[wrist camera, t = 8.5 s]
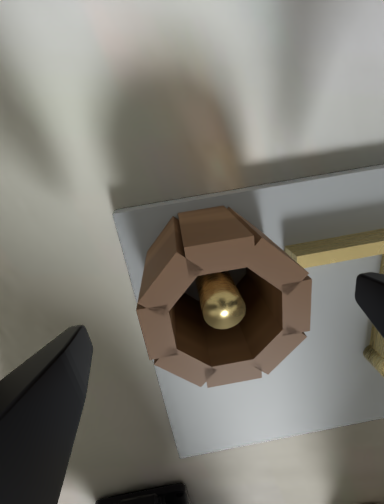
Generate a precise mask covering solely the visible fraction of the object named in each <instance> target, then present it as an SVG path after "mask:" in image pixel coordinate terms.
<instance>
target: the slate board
mask: <svg viewBox="0 0 384 504" xmlns="http://www.w3.org/2000/svg"><path fill="white" fill-rule="evenodd" d="M223 205H224V206H225V207H226V208H228V207H230V208H231V209H233V210H234V211H235V212H236V213H238V214H239V215H240V216H242V217H243V218H244V219H246V220H247V221H248V222H250V223H251V224H252V225H253V226H255V227H256V228H257V229H259V230H260V231H261V232H263V233H264V234H265V235H266V236H267V237H268V238H269V239H271V240H272V241H273V242H274V243H275V244H276V245H277V246H279V247H280V248H281V249H282V250H283V251H284V246H288V245H293V244H299V243H305V242H310V241H316V240H322V239H327V238H333V237H338V236H344V235H350V234H355V233H361V232H367V231H372V230H378V229H384V164H382V165H376V166H370V167H364V168H358V169H352V170H346V171H341V172H335V173H329V174H323V175H317V176H311V177H305V178H299V179H293V180H288V181H282V182H276V183H270V184H264V185H258V186H252V187H246V188H241V189H235V190H229V191H223V192H217V193H211V194H205V195H199V196H194V197H188V198H182V199H176V200H170V201H164V202H158V203H152V204H147V205H141V206H135V207H129V208H123V209H117V210H115V212H114V213H113V218H114V221H115V225H116V229H117V232H118V236H119V240H120V243H121V247H122V251H123V254H124V258H125V261H126V265H127V269H128V272H129V276H130V280H131V283H132V287H133V291H134V294H135V298H136V301H137V303H138V297H139V292H140V287H141V281H142V276H143V271H144V265H145V260H146V255H147V251H148V250H149V248H150V247H151V245H152V244H153V243H154V241H155V240H156V239H157V237H158V236H159V234H160V233H161V232H162V230H163V229H164V227H165V226H166V225H167V223H168V222H169V221H170V219H171V218H172V216H174V217H175V218H177V219H178V220H179V217H178V213H180V212H186V211H192V210H198V209H205V208H211V207H217V206H223ZM381 259H382V254H381V255H375V256H370V257H364V258H359V259H353V260H348V261H342V262H337V263H331V264H325V265H320V266H314V267H309V268H304V269H305V270H306V271H307V272H308V273H309V274H308V276H309V277H310V278H311V279H312V293H311V320H310V331H307V332H304V333H305V335H306V336H307V337H306V338H305V339H304V340H303V341H302V342H301V343H300V344H299V345H298V346H297V347H296V348H295V349H294V350H293V351H292V352H291V353H290V354H289V355H288V356H287V357H286V358H285V359H284V360H283V361H282V362H281V363H280V364H279V365H278V366H277V367H276V368H274V369H273V370H272V371H271V372H270V373H269V374H266V373H264V372H262V378H258V379H253V380H248V381H242V382H237V383H232V384H226V385H221V386H215V387H210V388H207V382H205V384H204V385H203V386H202V387H199V386H197V385H195V384H193V383H191V382H189V381H187V380H185V379H183V378H181V377H178V376H176V375H174V374H172V373H170V372H168V371H166V370H164V369H162V368H160V367H158V366H155V365H154V367H155V371H156V374H157V378H158V381H159V385H160V389H161V392H162V396H163V400H164V403H165V407H166V411H167V414H168V418H169V421H170V425H171V429H172V432H173V436H174V440H175V443H176V447H177V451H178V454H179V458H180V459H181V458H187V457H192V456H197V455H202V454H207V453H212V452H217V451H222V450H227V449H232V448H237V447H242V446H247V445H252V444H257V443H262V442H267V441H272V440H277V439H282V438H287V437H292V436H297V435H302V434H307V433H312V432H317V431H322V430H327V429H332V428H337V427H342V426H347V425H352V424H357V423H362V422H367V421H372V420H377V419H382V418H384V378H383V376H382V375H381V374H380V373H379V372H378V371H377V370H376V369H375V368H374V367H373V366H372V365H371V364H370V363H369V362H368V361H367V360H366V359H365V357H364V356H363V352H364V350H365V348H366V347H367V346H368V345H369V344H370V337H371V330H372V322H371V321H370V320H369V318H368V317H367V316H366V314H365V313H364V312H363V311H362V309H361V308H360V307H359V305H358V304H357V302H356V300H355V286H356V278H357V276H358V275H359V274H362V273H367V272H375V273H380V266H381ZM229 273H230V275H231V277H232V279H233V281H234V283H235V285H237V284H238V283H239V281H240V280H241V279H242V278H243V277H244V276H245V275H246V268H240V269H235V270H229ZM184 293H186V294H187V295H189V296H191V297H192V298H194V299H196V300H197V301H199V300H200V299H199V295H198V290H197V286H196V281H195V280H194V281H193V282H192V283H191V285H190V286H189V287H188V288H187V290H186V291H185V292H184ZM153 363H154V359H153Z"/></svg>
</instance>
